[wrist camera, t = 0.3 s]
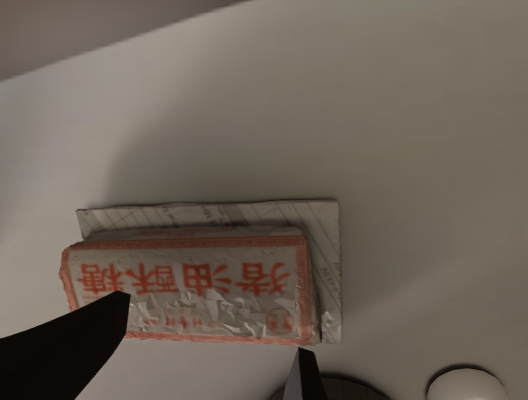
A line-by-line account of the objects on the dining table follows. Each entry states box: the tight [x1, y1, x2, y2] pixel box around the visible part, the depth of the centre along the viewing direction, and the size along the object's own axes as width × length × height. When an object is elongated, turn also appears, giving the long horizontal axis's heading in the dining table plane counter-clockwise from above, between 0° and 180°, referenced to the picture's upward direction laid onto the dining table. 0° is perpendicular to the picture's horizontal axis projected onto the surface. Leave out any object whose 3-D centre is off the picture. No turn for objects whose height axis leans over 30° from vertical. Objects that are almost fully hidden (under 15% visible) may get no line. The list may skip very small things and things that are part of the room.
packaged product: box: [59, 199, 343, 346], centre depth 22 cm, size 18×5×10 cm
